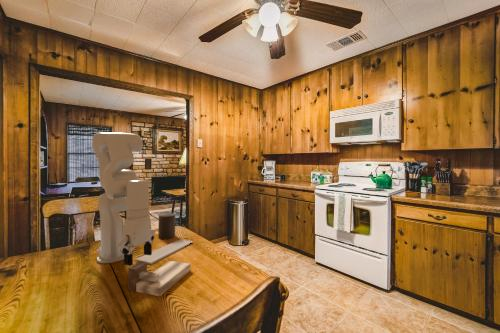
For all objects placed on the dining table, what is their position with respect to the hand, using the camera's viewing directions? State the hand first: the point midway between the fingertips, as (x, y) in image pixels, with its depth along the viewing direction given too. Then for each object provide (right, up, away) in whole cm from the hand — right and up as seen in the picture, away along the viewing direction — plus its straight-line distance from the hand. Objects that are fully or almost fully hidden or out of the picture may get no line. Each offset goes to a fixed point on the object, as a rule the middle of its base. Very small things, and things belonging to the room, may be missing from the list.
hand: (138, 259), depth 87 cm
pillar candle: (-10, -9, +58) cm, 59 cm away
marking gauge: (+3, -10, 0) cm, 11 cm away
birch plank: (+8, -10, +5) cm, 14 cm away
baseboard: (-3, -10, +36) cm, 37 cm away
